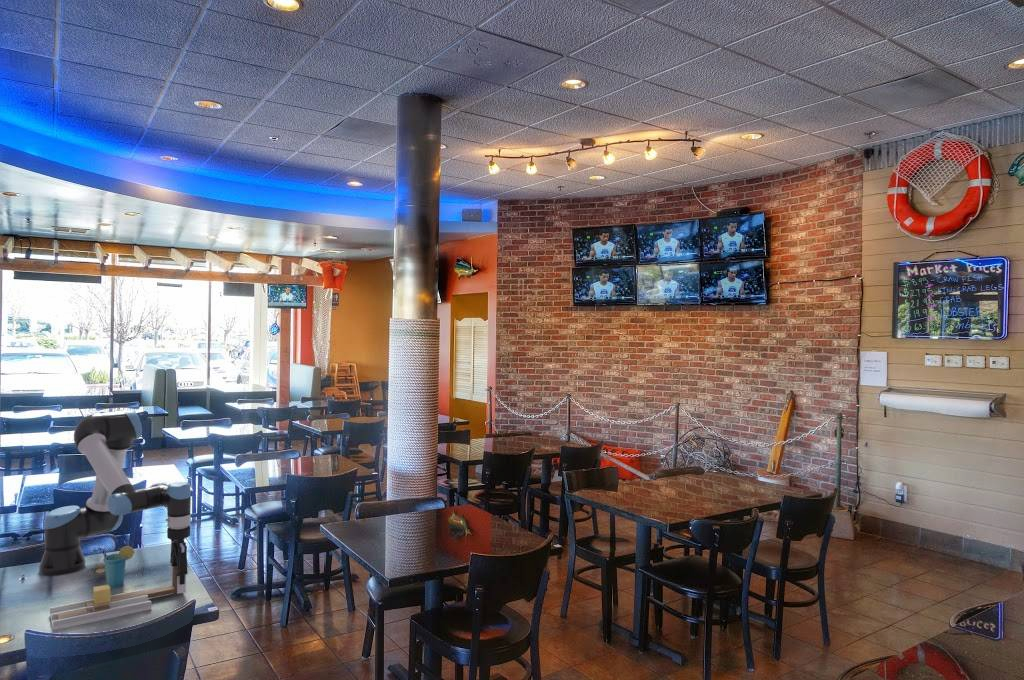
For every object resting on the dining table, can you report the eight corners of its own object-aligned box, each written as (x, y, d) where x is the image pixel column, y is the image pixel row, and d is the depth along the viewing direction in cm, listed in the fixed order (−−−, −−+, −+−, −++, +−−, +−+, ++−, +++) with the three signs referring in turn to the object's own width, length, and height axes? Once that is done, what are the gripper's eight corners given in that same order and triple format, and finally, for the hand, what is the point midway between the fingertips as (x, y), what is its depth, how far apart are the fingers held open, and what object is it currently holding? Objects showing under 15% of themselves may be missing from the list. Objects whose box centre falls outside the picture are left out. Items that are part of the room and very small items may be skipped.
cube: (93, 600, 237) (93, 587, 237) (108, 597, 240) (108, 584, 240) (94, 604, 234) (95, 591, 234) (110, 601, 237) (110, 588, 236)
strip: (85, 606, 236) (85, 583, 236) (181, 587, 254) (181, 565, 254) (87, 610, 233) (87, 587, 232) (184, 591, 251) (184, 569, 251)
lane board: (50, 615, 231) (50, 607, 231) (144, 596, 248) (144, 588, 248) (53, 630, 221) (53, 621, 221) (151, 609, 238) (151, 601, 238)
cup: (92, 593, 250) (92, 552, 249) (88, 586, 256) (88, 546, 255) (135, 584, 258) (135, 544, 258) (131, 578, 264) (131, 539, 264)
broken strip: (57, 619, 226) (57, 614, 226) (108, 608, 235) (108, 604, 235) (58, 623, 223) (58, 618, 223) (110, 612, 232) (110, 608, 231)
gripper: (161, 520, 257) (161, 581, 258) (173, 535, 240) (173, 600, 241) (183, 517, 261) (183, 577, 262) (197, 532, 244) (196, 595, 245)
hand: (178, 588), depth 251 cm, fingers open, 8 cm apart
